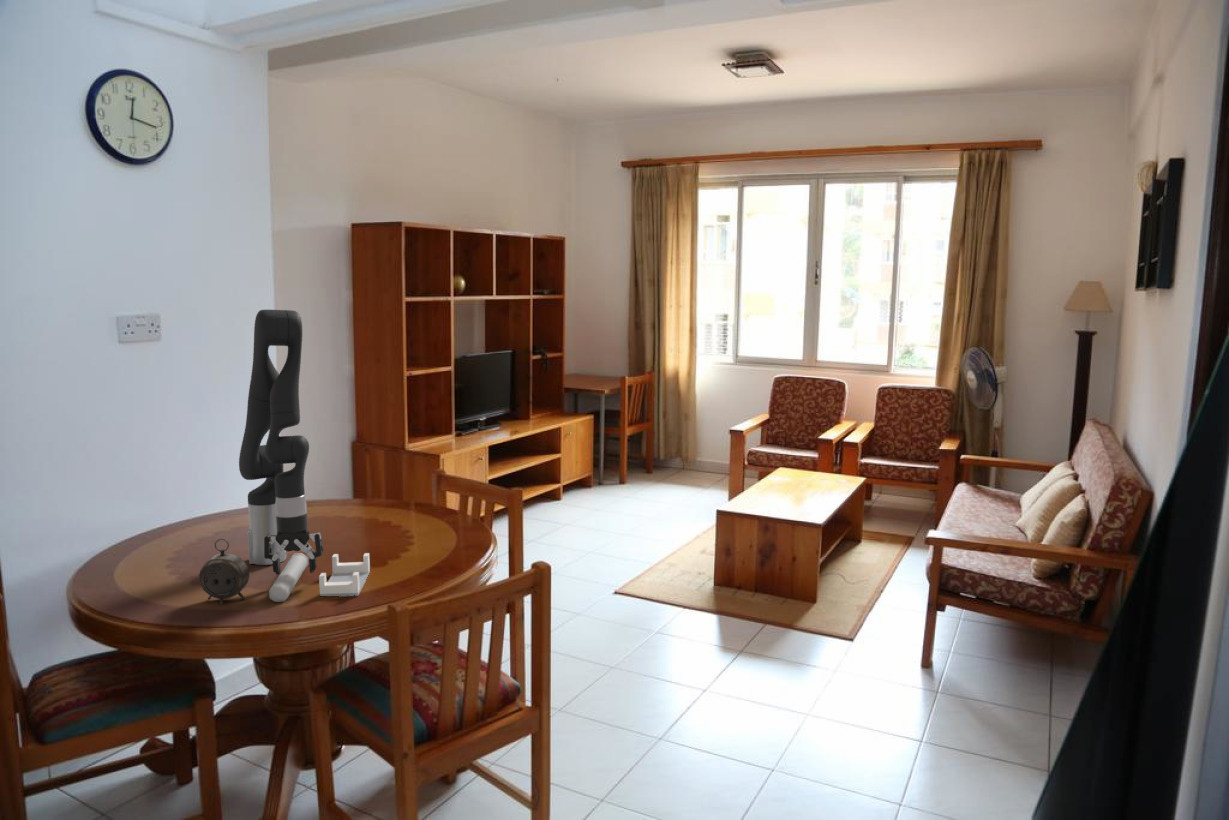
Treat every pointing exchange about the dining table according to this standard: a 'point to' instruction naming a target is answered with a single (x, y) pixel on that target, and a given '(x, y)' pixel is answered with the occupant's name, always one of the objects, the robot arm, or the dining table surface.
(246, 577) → the alarm clock
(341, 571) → the cradle
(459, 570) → the dining table surface
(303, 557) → the tube
